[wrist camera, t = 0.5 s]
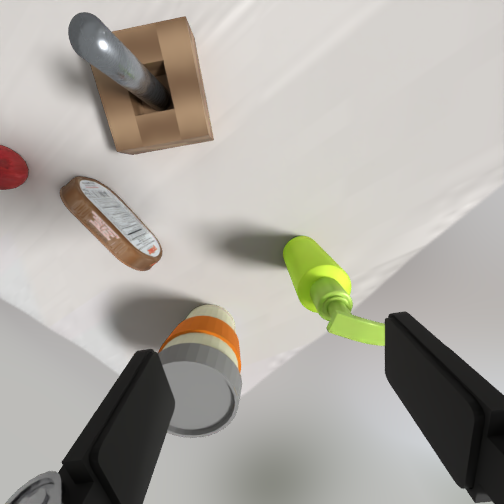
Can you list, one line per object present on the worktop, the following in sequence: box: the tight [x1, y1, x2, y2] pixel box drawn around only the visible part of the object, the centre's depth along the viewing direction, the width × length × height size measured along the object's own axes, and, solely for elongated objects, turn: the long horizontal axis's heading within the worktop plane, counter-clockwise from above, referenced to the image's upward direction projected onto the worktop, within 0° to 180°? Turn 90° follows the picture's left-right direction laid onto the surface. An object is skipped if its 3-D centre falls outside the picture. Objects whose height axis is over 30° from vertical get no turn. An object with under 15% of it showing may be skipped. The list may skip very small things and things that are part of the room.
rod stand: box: [90, 17, 214, 155], centre depth 30 cm, size 12×12×4 cm
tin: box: [60, 176, 162, 271], centre depth 33 cm, size 15×3×8 cm, turn 38°
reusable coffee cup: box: [158, 305, 242, 438], centre depth 35 cm, size 12×13×15 cm
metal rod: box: [68, 12, 171, 111], centre depth 24 cm, size 3×3×14 cm
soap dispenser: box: [283, 236, 385, 346], centre depth 28 cm, size 6×7×20 cm
